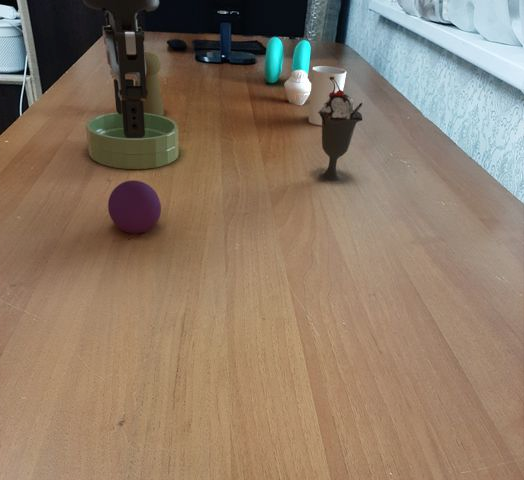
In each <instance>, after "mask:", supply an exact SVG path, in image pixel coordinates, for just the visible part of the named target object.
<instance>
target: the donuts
mask: <svg viewBox="0 0 524 480" xmlns="http://www.w3.org/2000/svg"><path fill="white" fill-rule="evenodd" d="M266 45H267V46H266V48H265V49H266V50H265V58H264V79H265V80H266V82H267V83H269V84H274V83H277V82H278V80H280V77H281V75H282V71H283V65H284V53H285V52H284V51H285V50H284V44H283V42H282V40H281V39H280V38H279V37H277V36H273V37H271V38H270V39H269V40H268V42H267V44H266ZM311 47H312V46H311V44H310V42H309V41H308V40H306V39H302V40H300V41H299V42H298V43H297V44H296V46H295V48H294V50H293V56H292V62H291V63H292V64H291V73H292V72H293V71H295V70H299V69H300V70H303V71H305V72H306V73H307V77H308V76H309V69H310V61H311V51H312V50H311Z"/></svg>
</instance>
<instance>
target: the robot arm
mask: <svg viewBox="0 0 524 480" xmlns="http://www.w3.org/2000/svg"><path fill="white" fill-rule="evenodd" d="M82 2H83V4H84V5H85V6H86V7H88V8H90V9H93V10H97V11H105V13H104V19H105V21H106V25H102V37H103V43H104V46H105V54H106V62H107V64H108V66H109V67H110V70H109V71H110V75H111V77H112V79H113V88H114V89H113V90H114V100H115V102H114V103H115V110H116V113H118V114H121V115H122V120H123V132H124V135H125V137H127V138H142V137H144V135H145V125H144V107H143V101H145V99H147V95H148V91H147V90H146V71H147V69H146V61H145V53H144V52H145V51H146V34H145V31H143V30H142V27H141V26H138V19H137V15H138V14H139V13H140V12H141V13H142V12H143V13H147V12H148V13H149V12H153V11H156V10H157V9H158V8H159V5H160V0H82ZM135 80H136V81H137V84H138V86H135Z"/></svg>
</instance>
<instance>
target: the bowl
mask: <svg viewBox="0 0 524 480" xmlns="http://www.w3.org/2000/svg"><path fill="white" fill-rule="evenodd" d="M144 125H145V135H144V137H142V138H127V137H125V135H124V132H123V120H122V115H121V114H118V113H117V112H111V113H105V114H100V115H97V116H94V117H91V118H90V119H88V121H86V124H85V131H86V141H87V149H88V150H87V151H88V156H89V157H90V159H92V161H94V162H96V163H98V164H100V165H103V166H106V167H110V168H116V169H124V170H147V169H153V168H154V169H155V168H160V167H164V166H167V165H169V164H171V163H173V162H175V161H176V160H177V159H178V157H179V156H180V154H179V153H180V152H179V150H180V149H179V126H178V123H177V122H175V121H174V120H173V119H171V118H169V117H167V116H164V115H163V116H160V115H155V114H149V113H144Z"/></svg>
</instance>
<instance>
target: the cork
mask: <svg viewBox="0 0 524 480" xmlns="http://www.w3.org/2000/svg"><path fill="white" fill-rule="evenodd" d="M144 53H145V61H146V69H147V71H146V90H147V91H148V95H147V99H145V101H143V107H144V113H149V114H155V115H160V116H164V115H165V110H164V105H163V98H162V91H161V83H160V79H159V72H160V71H161V60H160V57H159V56H158V55H157V54H155V53H152V52H145V51H144ZM134 86H138V84H137V81H136V80H135V79H134Z"/></svg>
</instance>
